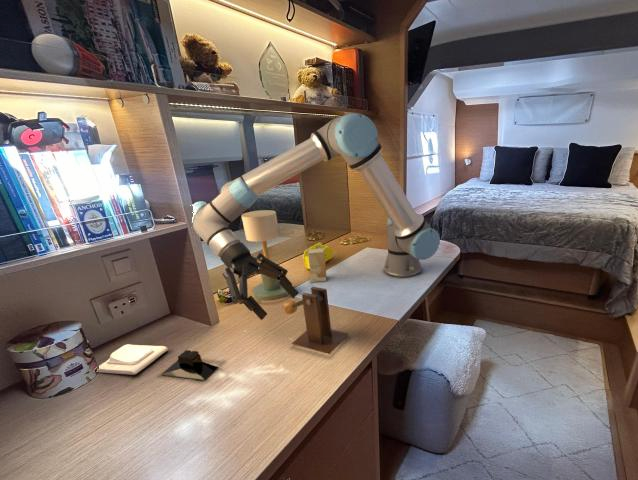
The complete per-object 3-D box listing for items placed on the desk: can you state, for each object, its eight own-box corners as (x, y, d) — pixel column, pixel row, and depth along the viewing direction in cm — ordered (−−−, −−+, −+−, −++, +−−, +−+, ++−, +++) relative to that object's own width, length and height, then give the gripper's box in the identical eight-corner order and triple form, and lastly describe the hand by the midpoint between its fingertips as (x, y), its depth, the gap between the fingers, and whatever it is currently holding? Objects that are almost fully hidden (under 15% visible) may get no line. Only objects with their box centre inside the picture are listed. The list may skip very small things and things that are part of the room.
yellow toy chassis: (322, 257, 160) (320, 240, 157) (333, 259, 158) (331, 241, 155) (304, 270, 146) (301, 251, 143) (315, 271, 144) (313, 252, 141)
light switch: (126, 337, 95) (164, 338, 92) (131, 349, 96) (169, 351, 93) (88, 360, 85) (129, 363, 82) (95, 374, 86) (136, 377, 83)
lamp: (271, 285, 133) (257, 208, 121) (300, 290, 127) (289, 210, 115) (245, 300, 121) (226, 217, 109) (275, 306, 116) (260, 219, 104)
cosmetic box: (311, 282, 133) (307, 253, 128) (311, 278, 137) (307, 249, 132) (327, 280, 134) (324, 251, 129) (327, 276, 138) (323, 248, 133)
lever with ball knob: (284, 317, 94) (277, 306, 93) (293, 311, 97) (286, 300, 96) (318, 305, 86) (311, 292, 86) (326, 299, 89) (319, 286, 89)
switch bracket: (292, 348, 92) (283, 295, 86) (313, 329, 100) (306, 281, 94) (329, 357, 87) (323, 303, 81) (348, 338, 96) (344, 287, 89)
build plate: (222, 363, 87) (219, 348, 86) (204, 382, 81) (199, 366, 79) (181, 358, 90) (177, 343, 88) (160, 376, 83) (154, 360, 82)
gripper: (256, 245, 108) (301, 294, 108) (187, 273, 87) (242, 334, 87) (266, 230, 103) (313, 281, 103) (196, 255, 83) (254, 320, 83)
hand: (281, 306), depth 95 cm, fingers open, 13 cm apart
